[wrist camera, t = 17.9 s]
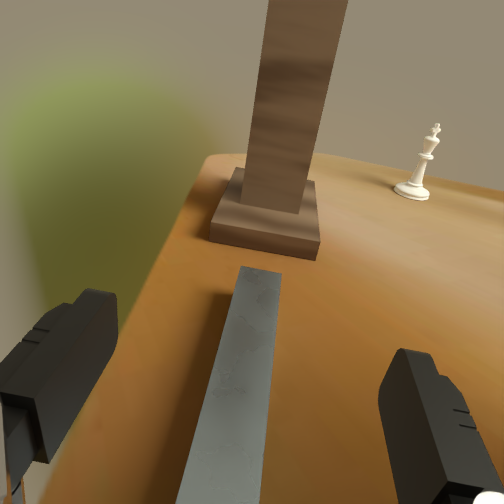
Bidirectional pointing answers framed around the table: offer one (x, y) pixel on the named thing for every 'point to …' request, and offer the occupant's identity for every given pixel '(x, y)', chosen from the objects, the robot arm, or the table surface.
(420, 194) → the chess piece
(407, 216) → the table surface
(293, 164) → the walnut stand
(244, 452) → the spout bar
